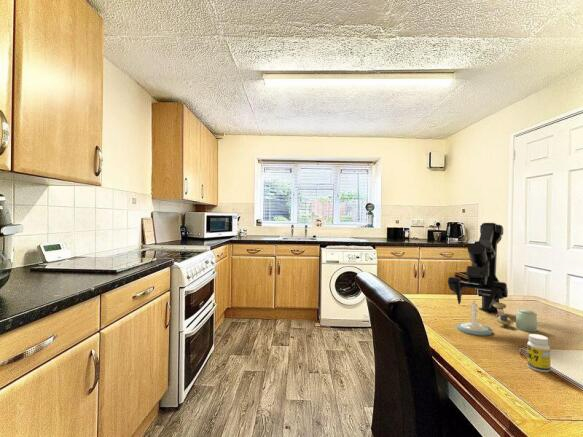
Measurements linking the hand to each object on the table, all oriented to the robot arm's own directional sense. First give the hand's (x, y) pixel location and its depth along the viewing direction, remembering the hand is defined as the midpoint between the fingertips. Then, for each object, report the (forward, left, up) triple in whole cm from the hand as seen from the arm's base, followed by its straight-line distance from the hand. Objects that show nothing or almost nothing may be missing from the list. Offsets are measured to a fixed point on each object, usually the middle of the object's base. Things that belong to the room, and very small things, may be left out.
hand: (473, 305), depth 109 cm
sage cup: (0, +21, -9) cm, 23 cm away
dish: (-1, +1, -9) cm, 9 cm away
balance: (-9, +19, -9) cm, 23 cm away
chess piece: (-1, +1, -8) cm, 8 cm away
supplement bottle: (+28, -3, -9) cm, 30 cm away
